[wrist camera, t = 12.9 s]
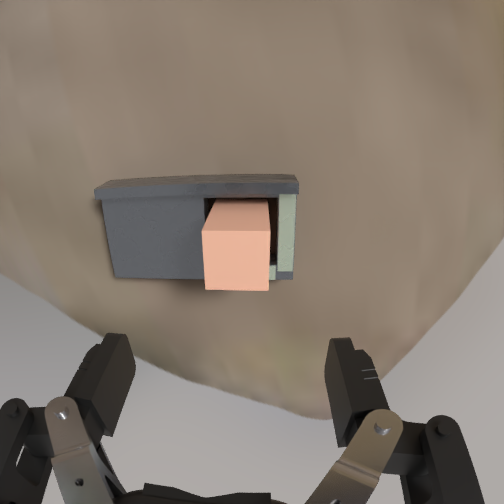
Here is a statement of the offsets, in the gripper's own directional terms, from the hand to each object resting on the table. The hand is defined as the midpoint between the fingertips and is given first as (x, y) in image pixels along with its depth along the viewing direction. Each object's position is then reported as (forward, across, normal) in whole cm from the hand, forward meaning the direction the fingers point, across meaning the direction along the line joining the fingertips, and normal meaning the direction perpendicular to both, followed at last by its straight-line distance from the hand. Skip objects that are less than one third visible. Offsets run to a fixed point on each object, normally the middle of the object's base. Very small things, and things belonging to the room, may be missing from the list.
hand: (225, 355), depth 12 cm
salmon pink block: (+15, 0, 0) cm, 15 cm away
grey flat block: (+15, +4, 0) cm, 16 cm away
